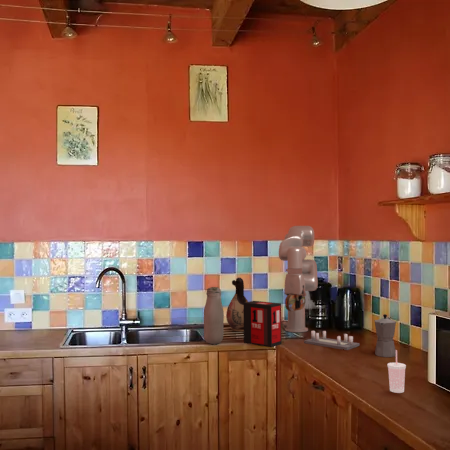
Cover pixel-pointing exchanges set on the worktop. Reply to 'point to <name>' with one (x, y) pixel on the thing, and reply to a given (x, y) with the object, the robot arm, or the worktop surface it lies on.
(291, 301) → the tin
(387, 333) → the coffeepot
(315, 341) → the pin board
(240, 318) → the ceramic jug
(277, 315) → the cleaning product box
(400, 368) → the beverage cup
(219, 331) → the grey brown bottle
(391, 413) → the worktop surface
